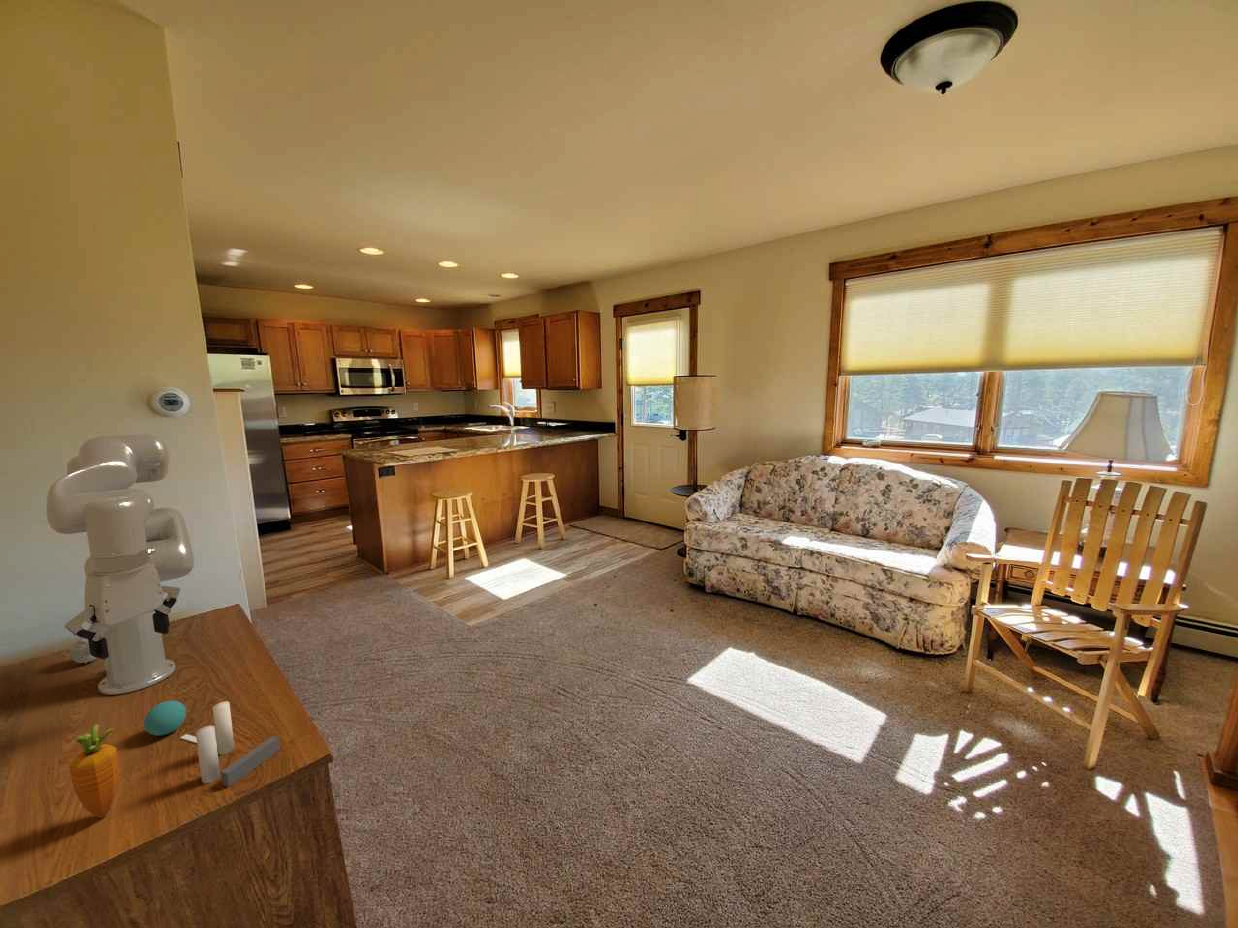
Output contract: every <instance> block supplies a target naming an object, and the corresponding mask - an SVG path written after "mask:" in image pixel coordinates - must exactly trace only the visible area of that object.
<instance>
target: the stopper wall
mask: <svg viewBox="0 0 1238 928" xmlns="http://www.w3.org/2000/svg"><path fill="white" fill-rule="evenodd" d="M280 745H281V744H280V738H279V737H278V736H274V735H272V736H271V737H269V738H268V739H267V740H265V741H263V742H262V743H260V744H259V745H257V746H256V747H255V748H253V749H251V750H250V751H249V752H247V753H246V754H245V755H243V756H242V757H240V758H239V759H237V760H235V762H233V763H231V764H230V765H229V766H227V767H225V768H223V770H221V771H220V776H221V783H222V786H225V787H227V788H230V787H231V786H233V785H234V784H235V783H237V782H238V781H239V780H241V779H242V778H243V777H245V776H247V775H248V774H249V773H250V772H252V771H253V770H255V769H256V768H257V767H259V766H260V765H261V764H263V763H264V762H266V761H267V760H269V759H270V758H271V757H272V756H274V755H275V754H276V752H277V751H278V750H279V751H281V746H280ZM279 751H278V752H279ZM278 752H277V753H278ZM273 754H274V755H273ZM270 756H271V757H270ZM269 757H270V758H269Z"/></svg>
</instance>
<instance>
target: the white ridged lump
mask: <svg viewBox="0 0 1238 928" xmlns="http://www.w3.org/2000/svg"><path fill="white" fill-rule="evenodd" d="M79 638H80V639H78V640H76V641H75V642H74V643H73V644H72V645H71V646H70V647H69V651H68V655H69V657H70V658H71V659H72V660H73V661H74V662H75V663H76V664H81V663H85V664H88V663H87V662H90V663H92V662H94V661H96V660H97V659H98V658H96V657H94V656H92V655H91V654H90V649H89V643H88V639H85V638H82V637H79ZM95 659H96V660H95ZM93 660H94V661H93ZM91 661H92V662H91Z"/></svg>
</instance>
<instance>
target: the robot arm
mask: <svg viewBox="0 0 1238 928" xmlns="http://www.w3.org/2000/svg"><path fill="white" fill-rule="evenodd" d="M169 464H170V453H169V448H168V446H167V444H166V442H165V441H164V440H163V439H162V438H161V437H159V436H156V435H154V434H149V433H148V434H125V435H124V434H123V435H122V434H121V435H119V434H118V435H102V436H97V437H92V438H90V439H88V440H86V441H85V442H83V444H81V446H80V448H79V451H78V455H77V456H75V457H73V458H71V459H70V460H69V461H68V462H67V465H66V475H64V476H62V477H60V478H58V479H57V480H56V481H55V482H54V483H52V485H51V486H50V487H49V490H48V492H47V496H46V519H47V523H48V525H49V526H50V527H51V529H52V530H54V531H55V532H57V533H58V534H62V535H72V534H81V533H86V536H87V542H88V548H89V554H90V555H89V556H88V557H87V559H86V560H85V563H84V567H83V569H84V575H85V577H86V579H85V585H84V594H83V595H84V609H83V610H82V611H81V612H80V613H78V614H77V615H75V616H74V617H73V618H72V619H70V620H69V621H67V622H66V623H65V624H64V628H65V629H67V631H69V632H70V633H72V634H73V635H74V636H76V637H79V638H85V639H88V643H89V649H90V654H91V655H92V656H94V657H96V658H97V659H100V660H104V663H103V667H104V668H105V671H106V677H104V678H103V679H102V680H100V681H99V683H98V685H97V687H98V688H97V689H98V692H99V693H100V694H104V695H110V696H111V695H122V694H126V693H131V692H135V691H138V690H141V689H145V688H148V687H150V686H153V685H155V684H157V683H160V682H161V681H164V680H165V679H166V678H168V677H170V675H172V674H173V673H174V672H175V670H176V662H174V661H173V660H170V659H166V657H165V648H164V647H165V646H164V640H163V635H167V634H169V632H170V629H169V627H170V620H169V618H170V617H169V614H170V613H171V612H172V608H173V607H174V605H175V604H176V603H177V598H178V596H179V594H180V592H181V588H180V587H177V586H169V585H162V583H161V582H166V581H171V580H175V579H180V578H184V577H186V576H188V575H189V574H190V573H191V572H192V571H193V568H194V565H195V559H194V552H193V548H192V544H191V540H190V536H189V532H188V528H187V525H186V521H185V519H184V516H183V515H182V513H181V512H180V511H179V510H177V509H175V508H172V507H160V508H159V507H158V508H155V503H154V499H153V497H152V496H151V495H149V493H147V492H146V491H145V490H143V489H138V488H131V487H132V486H134V485H135V484H144V483H151V482H152V483H153V482H159V481H162V480H164V479H165V478H166V477H167V476H168V473H169ZM164 593H165V594H166V593H167V595H166V598H165V599H164ZM85 622H87V624H90V625H89V627H88V629H85V628H84V627H83V626H82V625H83V624H84V623H85Z"/></svg>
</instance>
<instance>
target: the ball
mask: <svg viewBox="0 0 1238 928" xmlns="http://www.w3.org/2000/svg"><path fill="white" fill-rule="evenodd" d="M186 717H187V709H186V706H185V704H183V703H182V702H180V701H177V700H167V701H163V702H160V703H158V704H156V705H154V706H153V707H152V708H151V709H150V710H149V711H148V712H147V714H146V715H145V718H144V721H143V728H144V729H145V731H146V732H147V733H149V734H150V735H152V736H165V735H168V734H170V733H172V732H174V731H176V730H177V729H178V728H180V727H181V725H182V724H183V723H184V721H185V719H186Z"/></svg>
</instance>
